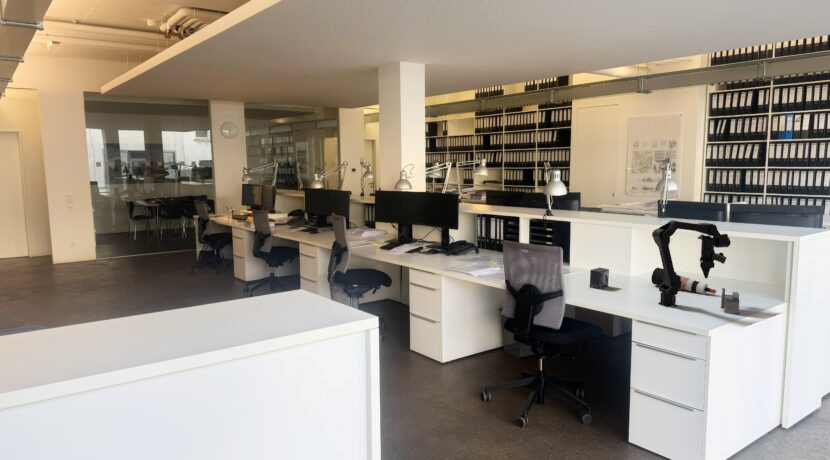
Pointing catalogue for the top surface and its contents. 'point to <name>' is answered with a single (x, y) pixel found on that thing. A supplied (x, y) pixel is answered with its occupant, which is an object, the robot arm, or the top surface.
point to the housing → (732, 303)
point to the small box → (599, 278)
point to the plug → (723, 299)
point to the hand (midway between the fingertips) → (706, 278)
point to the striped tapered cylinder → (686, 282)
